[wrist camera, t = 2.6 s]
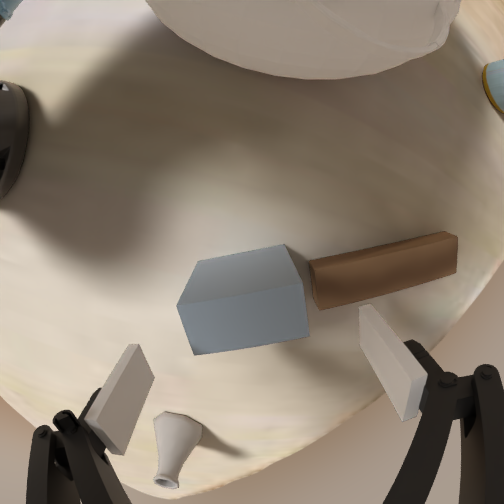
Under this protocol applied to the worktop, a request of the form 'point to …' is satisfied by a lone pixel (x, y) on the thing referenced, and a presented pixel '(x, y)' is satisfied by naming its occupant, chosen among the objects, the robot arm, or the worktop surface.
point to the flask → (174, 446)
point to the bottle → (495, 83)
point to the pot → (311, 33)
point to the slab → (243, 302)
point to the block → (382, 269)
